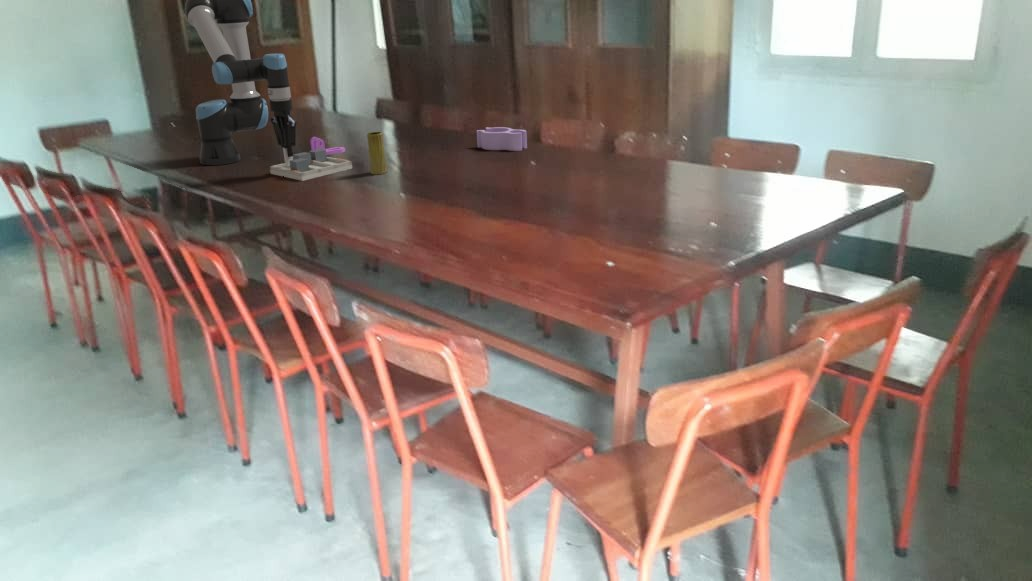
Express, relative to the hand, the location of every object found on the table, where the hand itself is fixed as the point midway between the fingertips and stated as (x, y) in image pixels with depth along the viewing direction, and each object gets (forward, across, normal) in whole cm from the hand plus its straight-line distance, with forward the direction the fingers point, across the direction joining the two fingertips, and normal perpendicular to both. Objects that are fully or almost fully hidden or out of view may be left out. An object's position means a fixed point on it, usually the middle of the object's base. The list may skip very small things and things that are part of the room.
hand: (289, 165), depth 291 cm
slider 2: (+1, +6, 0) cm, 6 cm away
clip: (+4, +37, +75) cm, 84 cm away
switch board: (+3, +3, +7) cm, 8 cm away
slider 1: (+2, -2, +7) cm, 7 cm away
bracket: (+4, -18, +31) cm, 36 cm away
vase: (+3, +27, +19) cm, 33 cm away
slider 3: (+2, -2, +14) cm, 14 cm away
